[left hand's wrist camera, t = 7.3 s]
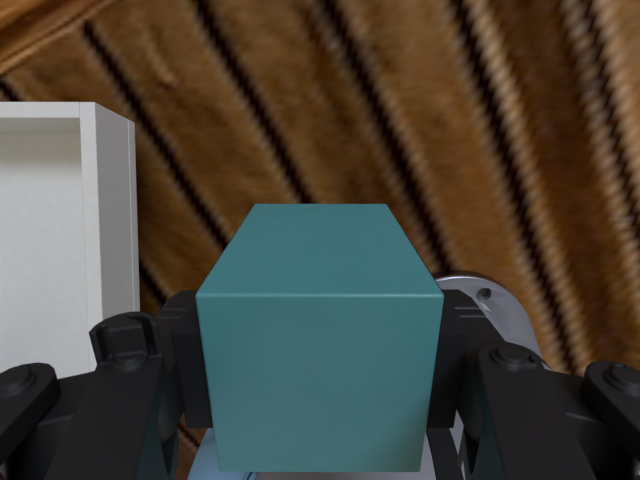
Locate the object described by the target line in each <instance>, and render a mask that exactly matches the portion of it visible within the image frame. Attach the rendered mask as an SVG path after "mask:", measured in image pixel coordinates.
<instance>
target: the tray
mask: <svg viewBox="0 0 640 480" xmlns="http://www.w3.org/2000/svg"><path fill="white" fill-rule="evenodd" d="M133 311H140V294H139V260H138V225H137V191H136V157H135V124H134V122H132V121H130V120H128V119H126V118H124V117H122V116H120V115H118V114H116V113H114V112H112V111H110V110H108V109H106V108H105V107H103V106H101V105H99V104H97V103H95V102H80V103H79V102H0V373H2V372H4V371H6V370H7V369H9V368H12V367H15V366H16V367H17V366H19V365H23V364H29V363H37V362H40V363H47V364H50V365H51V366H52V367H53V368H54V369H55V372H56V375H57V379H60V378H65V377H69V376H74V375H79V374H84V373H88V372H92V371H95V369H96V366H97V363H96V359H95V355H94V351H93V348H92V344H91V340H90V336H89V333H88V332H89V331H90V330H91V329H92V328H93V327H94V326H95V325H96V324H98V323H100V322H101V321H103V320H104V319H107V318H109V317H112V316H114V315H117V314H121V313H126V312H133Z"/></svg>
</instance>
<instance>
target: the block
mask: <svg viewBox="0 0 640 480" xmlns="http://www.w3.org/2000/svg"><path fill="white" fill-rule="evenodd" d="M443 300H444V295H443V293H442V291H441V290H440V288H439V287H438V285H437V283H436V282H435V280H434V279H433V277H432V276H431V274H430V272H429V271H428V269H427V268H426V266H425V265H424V263H423V261H422V260H421V258H420V257H419V255H418V254H417V252H416V250H415V249H414V247H413V246H412V244H411V243H410V241H409V240H408V238H407V236H406V235H405V233H404V232H403V230H402V229H401V227H400V225H399V224H398V222H397V221H396V219H395V218H394V216H393V214H392V213H391V211H390V210H389V208H388V207H387V205H386V204H255V205H254V206H253V208H252V209H251V211H250V212H249V214H248V215H247V217H246V218H245V220H244V221H243V223H242V225H241V226H240V228H239V229H238V231H237V232H236V234H235V235H234V237H233V238H232V240H231V241H230V243H229V244H228V246H227V247H226V249H225V250H224V252H223V253H222V255H221V257H220V258H219V260H218V261H217V263H216V264H215V266H214V267H213V269H212V270H211V272H210V273H209V275H208V276H207V278H206V279H205V281H204V282H203V284H202V285H201V287H200V289H199V290H198V292H197V293H196V304H197V311H198V319H199V326H200V333H201V341H202V348H203V355H204V363H205V370H206V377H207V385H208V392H209V400H210V407H211V414H212V422H213V429H214V436H215V444H216V451H217V459H218V466H219V471H221V472H394V473H418V472H420V469H421V462H422V455H423V448H424V440H425V433H426V425H427V418H428V411H429V403H430V396H431V389H432V381H433V374H434V367H435V359H436V352H437V345H438V337H439V330H440V322H441V315H442V308H443Z"/></svg>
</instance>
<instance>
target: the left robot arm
mask: <svg viewBox="0 0 640 480" xmlns="http://www.w3.org/2000/svg"><path fill="white" fill-rule="evenodd" d="M404 233H405V232H404ZM235 234H236V233H235ZM235 234H234V235H235ZM405 235H406V234H405ZM406 236H407V235H406ZM233 237H234V236H233ZM233 237H232V238H233ZM407 238H408V237H407ZM231 240H232V239H231ZM231 240H230V241H231ZM408 240H409V238H408ZM409 241H410V240H409ZM229 243H230V242H229ZM410 243H411V242H410ZM411 244H412V243H411ZM227 246H228V245H227ZM412 246H413V245H412ZM413 247H414V246H413ZM225 249H226V248H225ZM414 249H415V248H414ZM415 250H416V249H415ZM223 252H224V251H223ZM416 252H417V251H416ZM417 254H418V252H417ZM221 255H222V254H221ZM418 255H419V254H418ZM220 257H221V256H220ZM419 257H420V255H419ZM420 258H421V257H420ZM218 260H219V259H218ZM421 260H422V259H421ZM422 261H423V260H422ZM216 263H217V262H216ZM423 263H424V262H423ZM424 265H425V263H424ZM214 266H215V265H214ZM425 266H426V265H425ZM426 268H427V266H426ZM212 269H213V268H212ZM427 269H428V268H427ZM428 271H429V269H428ZM210 272H211V271H210ZM429 272H430V271H429ZM430 274H431V272H430ZM431 276H432V277H433V279H434V280H435V282H436V283H437V285H438V287H439V288H440V290H441V291H442V293H443V295H444V300H443V308H442V315H441V322H440V330H439V337H438V345H437V352H436V359H435V367H434V374H433V381H432V389H431V396H430V403H429V411H428V418H427V425H426V433H425V440H424V448H423V455H422V462H421V469H420V472H418V473H394V472H221V471H219V466H218V459H217V451H216V444H215V436H214V429H213V422H212V414H211V407H210V400H209V392H208V385H207V377H206V370H205V363H204V355H203V348H202V341H201V333H200V326H199V319H198V311H197V304H196V293H197V292H198V291H180V292H179V293H177V294H176V295H174V296H172V297H171V298H169V299H168V300H167V302H166V303H165V304H164V306H163V307H162V308H161V311H159V312H158V313H157V315H156V316H154V315H153V314H151V313H148V312H143V311H133V312H126V313H121V314H117V315H114V316H112V317H109V318H107V319H104V320H103V321H101V322H100V323H98V324H96V325H95V326H94V327H93V328H92V329H91V330H90V331H89V332H88V333H89V336H90V340H91V344H92V348H93V351H94V355H95V359H96V363H97V366H96V369H95V371H92V372H88V373H84V374H79V375H74V376H69V377H65V378H60V379H57V375H56V372H55V369H54V368H53V367H52V366H51V365H50V364H47V363H40V362H37V363H29V364H23V365H19V366H17V367H16V366H15V367H12V368H9V369H7V370H6V371H4V372H2V373H0V470H1V472H2V476H1V478H0V480H175V473H176V465H177V456H178V448H179V438H178V432H177V425H178V423H179V421H180V419H181V416H182V414H183V412H184V415H185V420H186V426H187V428H208V429H207V432H206V434H205V436H204V438H203V440H202V443H201V445H200V447H199V449H198V452H197V454H196V457H195V459H194V462H193V465H192V467H191V470H190V473H189V476H188V478H187V480H640V371H639V370H637V369H635V368H633V367H631V366H628V365H623V364H621V363H616V362H609V361H597V362H592V363H591V364H589V365H588V366H587V367H586V370H585V373H584V377H579V376H574V375H569V374H564V373H559V372H555V371H552V369H551V368H550V367H549V366H548V365H547V363H546V362H545V361H544V360H543V358H542V355H541V352H540V349H539V346H538V343H537V340H536V337H535V334H534V331H533V328H532V325H531V322H530V319H529V317H528V315H527V313H526V311H525V310H524V308H523V306H522V305H521V303H520V302H519V301H518V299H517V298H516V297H515V296H514V295H513V294H512V293H511V292H510V291H509V290H508V289H507V288H506V287H504V286H503V285H502V284H501V283H499V282H498V281H496V280H494V279H492V278H490V277H488V276H486V275H483V274H479V273H475V272H471V271H444V272H438V273H434V274H431ZM199 289H200V288H199Z"/></svg>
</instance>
